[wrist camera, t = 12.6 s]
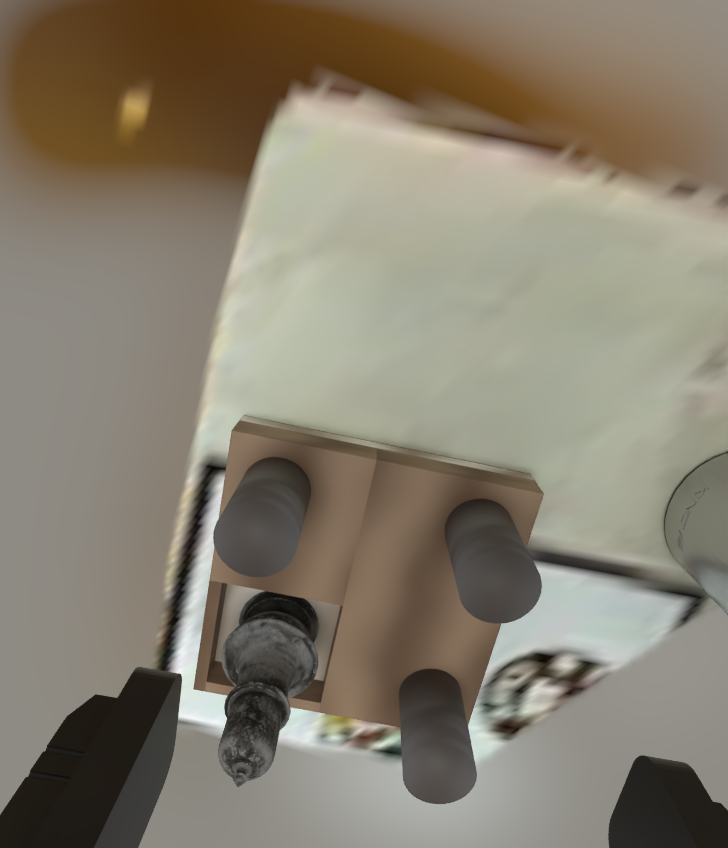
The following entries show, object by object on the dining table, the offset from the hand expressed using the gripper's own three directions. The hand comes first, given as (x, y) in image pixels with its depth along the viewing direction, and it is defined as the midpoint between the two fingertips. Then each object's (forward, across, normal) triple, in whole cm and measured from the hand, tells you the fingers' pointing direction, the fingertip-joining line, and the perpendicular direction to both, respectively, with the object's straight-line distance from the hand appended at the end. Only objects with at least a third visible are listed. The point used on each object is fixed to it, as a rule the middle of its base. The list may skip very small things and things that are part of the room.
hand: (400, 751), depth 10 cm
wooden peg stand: (+26, 0, +12) cm, 28 cm away
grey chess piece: (+25, +4, +16) cm, 30 cm away
